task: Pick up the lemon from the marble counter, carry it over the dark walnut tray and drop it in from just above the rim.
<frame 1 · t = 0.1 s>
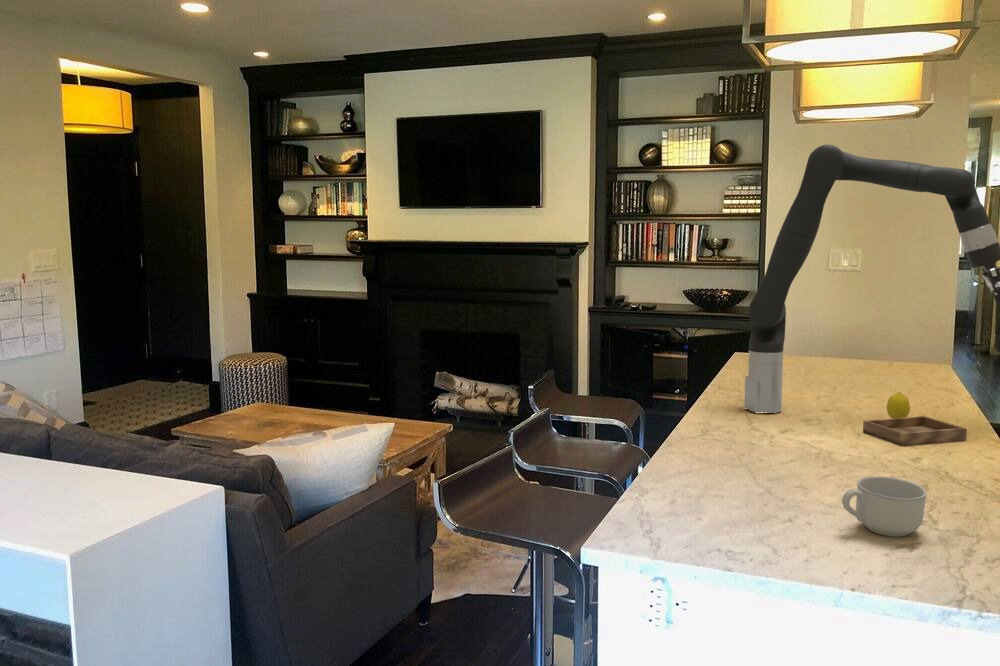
tray: (913, 436, 203), on the counter
teacup: (879, 531, 140), on the counter
lemon: (897, 422, 218), on the counter
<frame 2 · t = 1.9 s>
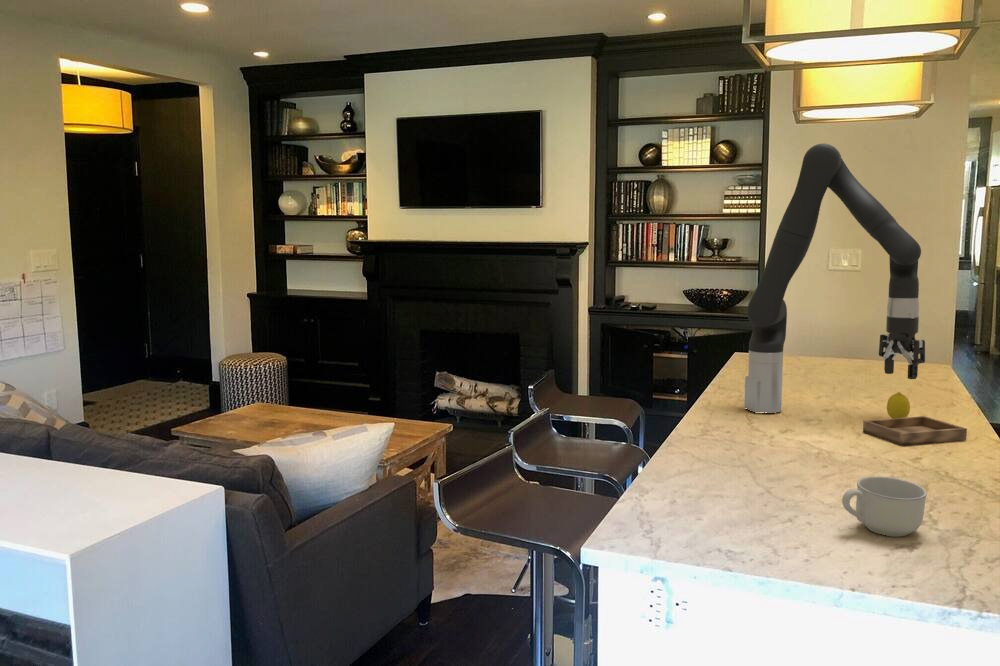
hand: (900, 376, 216), 12 cm above the counter, tool pointing down, fingers open, 8 cm apart
nothing on the counter moved.
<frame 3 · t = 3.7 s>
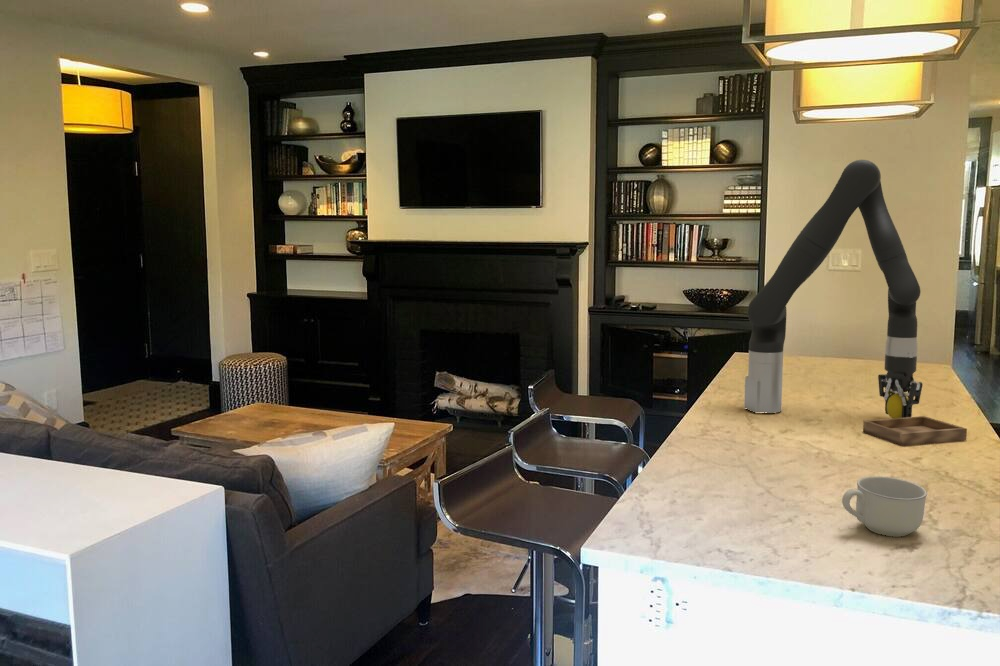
hand: (897, 416, 218), 2 cm above the counter, tool pointing down, fingers closed on lemon, 5 cm apart
lemon: (897, 422, 218), on the counter, touching gripper
everything else where it was.
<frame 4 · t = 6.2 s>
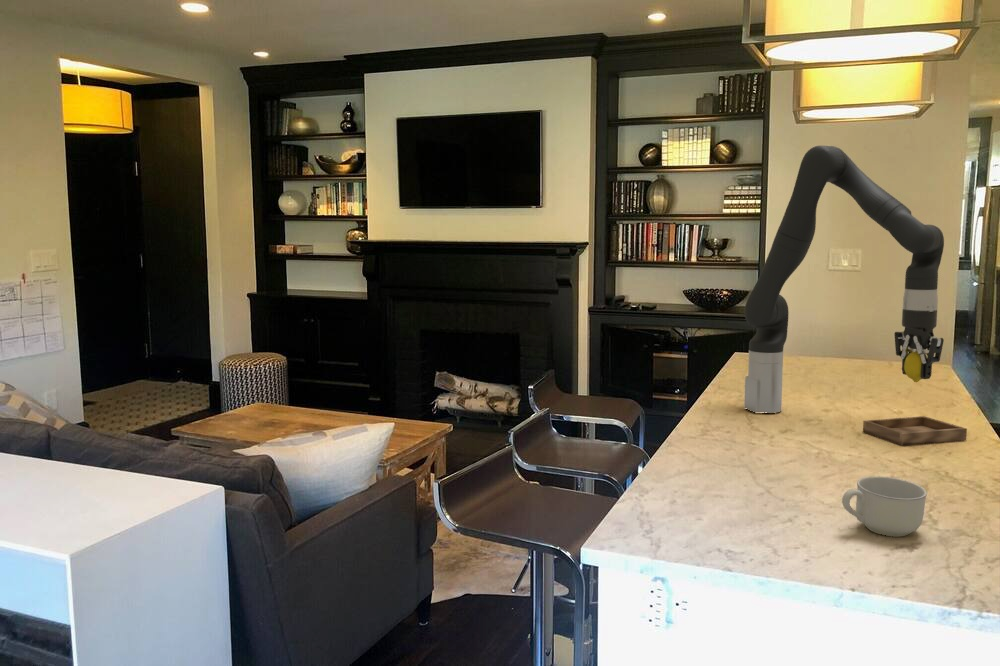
hand: (916, 376, 201), 15 cm above the counter, tool pointing down, fingers closed on lemon, 5 cm apart
lemon: (915, 383, 201), point 13 cm above the counter, touching gripper
everything else where it was.
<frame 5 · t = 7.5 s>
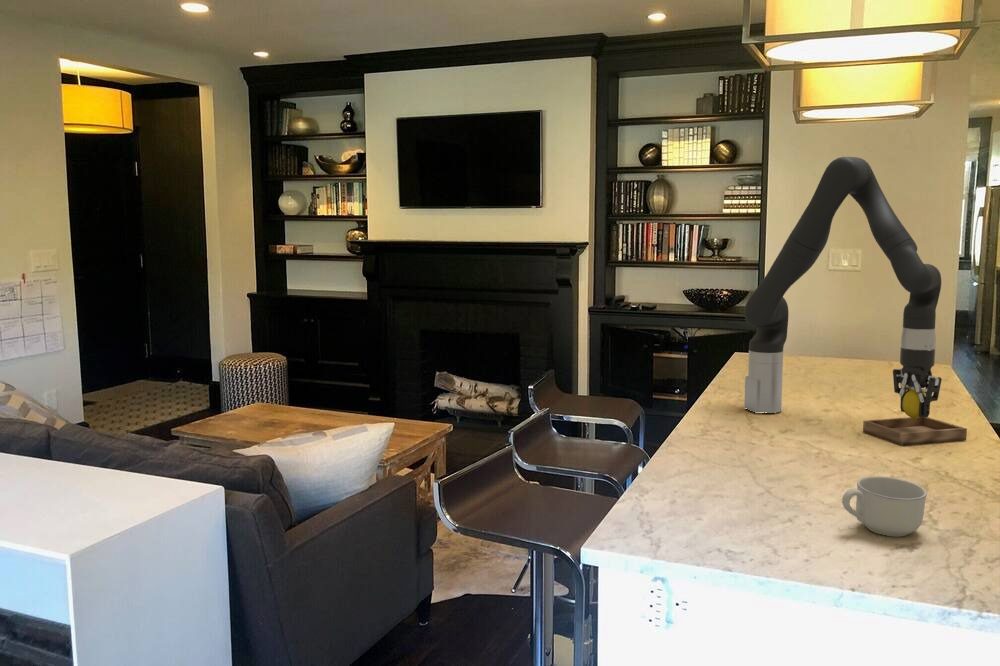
hand: (914, 414, 202), 6 cm above the counter, tool pointing down, fingers closed on lemon, 5 cm apart
lemon: (914, 421, 202), point 4 cm above the counter, touching gripper
everything else where it was.
when the fingers open (4 cm above the counter, at t = 8.6 s): lemon drops 2 cm, resting on tray.
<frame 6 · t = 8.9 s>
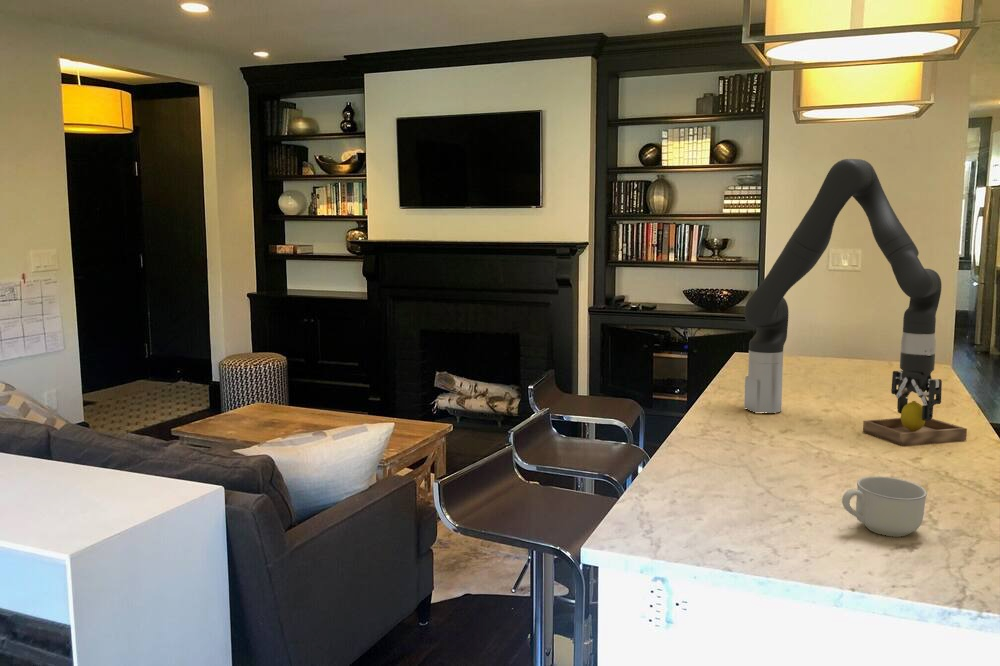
hand: (914, 416, 202), 5 cm above the counter, tool pointing down, fingers open, 8 cm apart
lemon: (912, 433, 203), point 1 cm above the counter, touching tray
everything else where it was.
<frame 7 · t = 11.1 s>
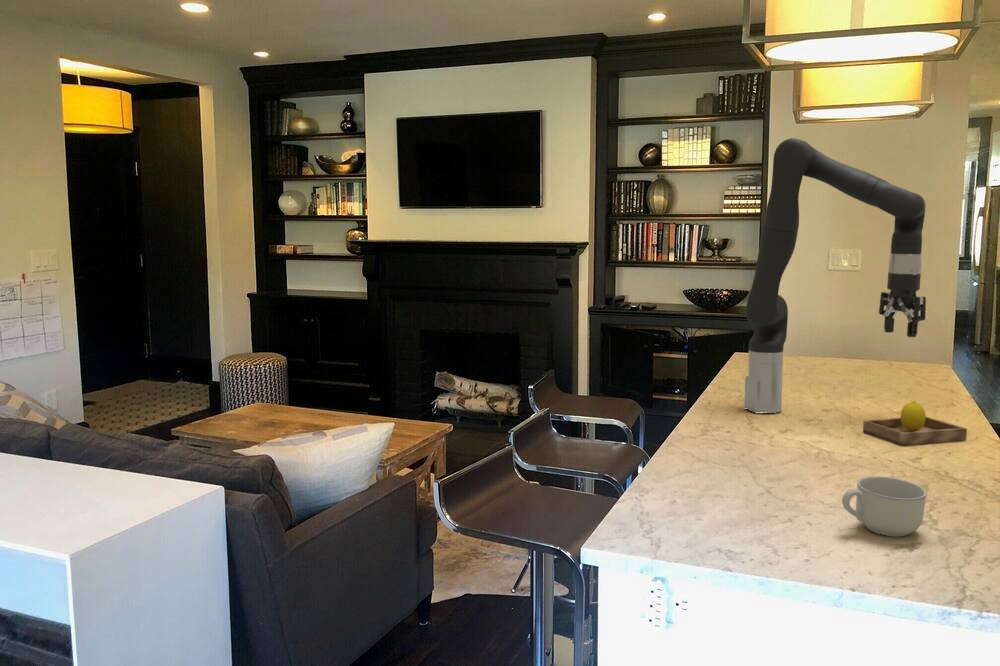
hand: (900, 334, 212), 24 cm above the counter, tool pointing down, fingers open, 8 cm apart
nothing on the counter moved.
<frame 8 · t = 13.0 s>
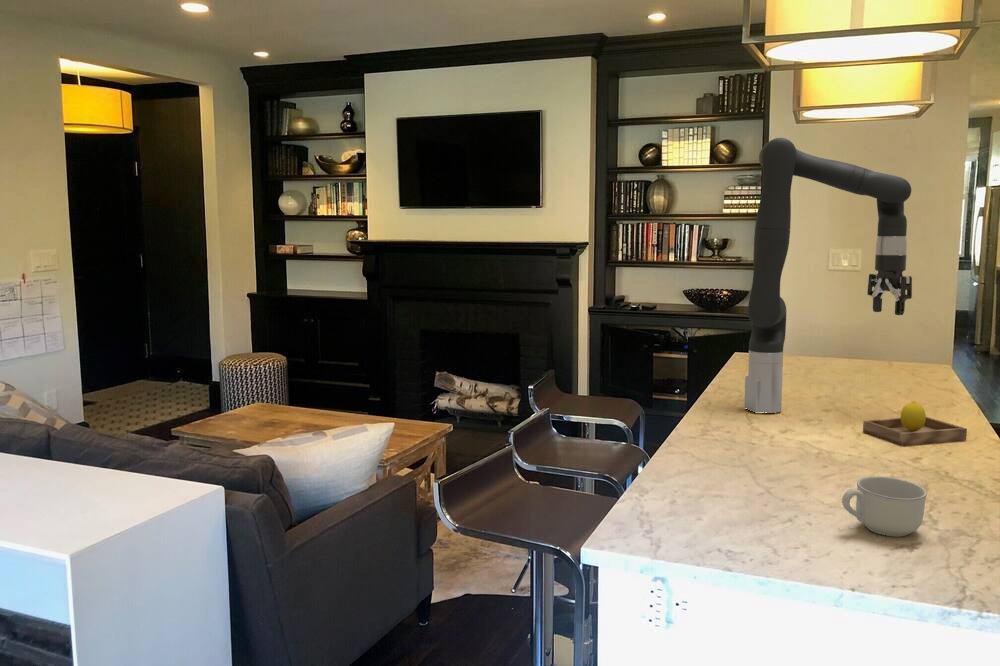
hand: (888, 313, 222), 28 cm above the counter, tool pointing down, fingers open, 8 cm apart
nothing on the counter moved.
at the end: lemon inside the target area on the tray (0.4 cm from its centre), point 0.6 cm above the tray's base; the gripper is holding nothing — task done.
